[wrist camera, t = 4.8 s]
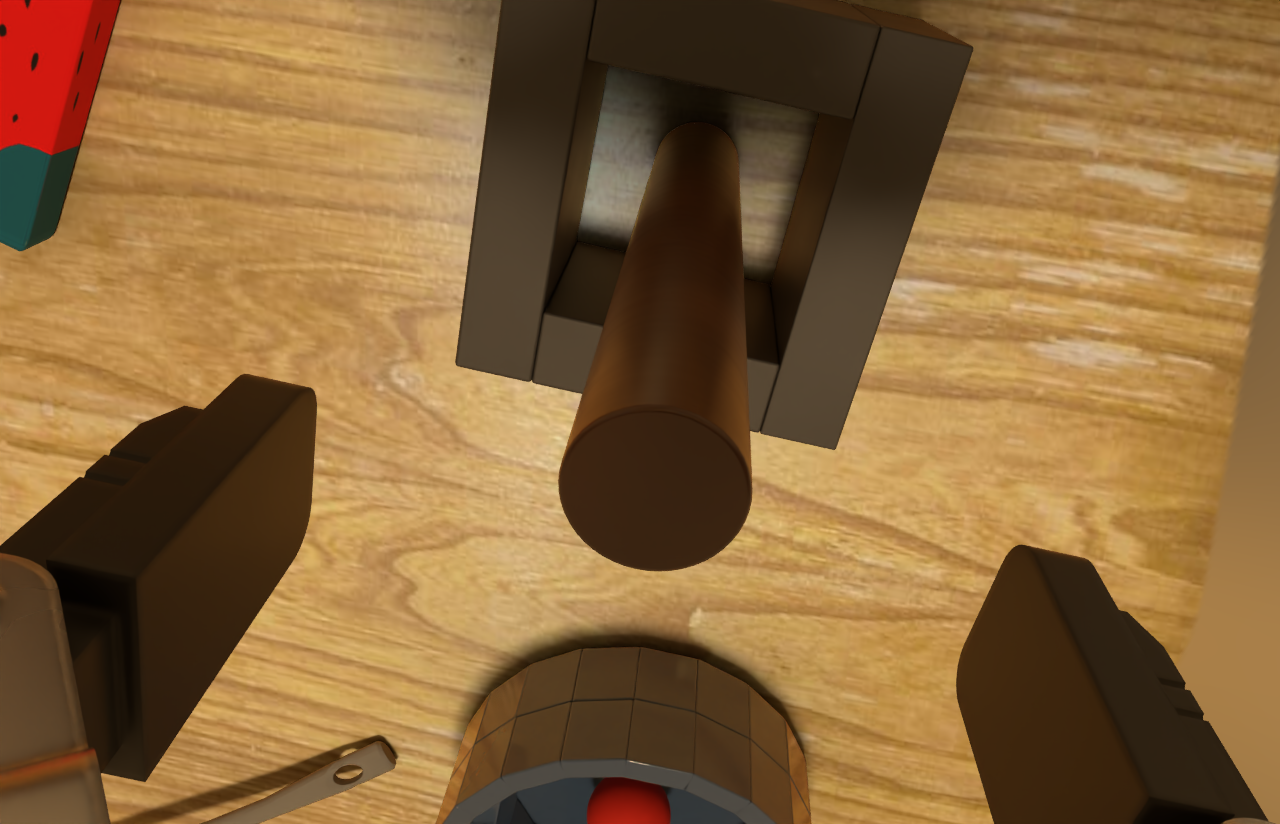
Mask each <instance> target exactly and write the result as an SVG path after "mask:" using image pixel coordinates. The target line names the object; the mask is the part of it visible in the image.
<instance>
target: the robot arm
mask: <svg viewBox="0 0 1280 824" xmlns="http://www.w3.org/2000/svg"><path fill="white" fill-rule="evenodd" d="M316 416H317V401H316V395H315V392H314V391H313V389H312V388H309V387H305V386H300V385H295V384H291V383H286V382H282V381H277V380H273V379H268V378H263V377H259V376H254V375H250V374H243V375H240V376H239V377H238V378H236V379H235V380H234V381H233V382H232V383H231V384H230V385H229V386H228V387H227V388H226V389H225V390H224V391H223V392H222V393H221V394H220V395H219V396H217V397H216V398H215V399H214V400H213V401H212V402H211V403H210V404H209V405H208V406H207V407H206V408H205V409H204V410H202V409H197V408H193V407H188V406H183V407H181V408H178V409H176V410H173V411H171V412H168V413H166V414H163V415H161V416H158V417H156V418H153V419H151V420H149V421H146V422H144V423H141V424H140V425H138V426H137V427H136V428H135V429H134V430H133V431H132V432H130V433H129V434H128V435H127V436H126V437H125V438H124V439H122V440H121V441H120V442H119V443H118V444H117V445H115V446H114V447H113V448H112V449H111V452H110V455H109V456H108V455H104V456H103V457H102V458H101V459H99V460H98V461H97V462H96V463H95V464H94V465H93V466H91V467H90V468H89V469H88V470H87V471H86V474H85V477H84V478H82V477H79V478H78V479H76V480H75V481H74V482H73V483H72V484H71V485H70V486H68V487H67V488H66V489H65V490H64V491H63V492H61V493H60V494H59V495H58V496H57V497H56V498H55V499H53V500H52V501H51V502H50V503H49V504H48V505H47V506H45V507H44V508H43V509H42V510H41V511H40V512H38V513H37V514H36V515H35V516H34V517H33V518H32V519H30V520H29V521H28V522H27V523H26V524H25V525H24V526H22V527H21V528H20V529H19V530H18V531H17V532H15V533H14V534H13V535H12V536H11V537H10V538H9V539H7V540H6V541H5V542H4V543H3V544H2V545H1V546H0V824H110V819H109V814H108V809H107V804H106V799H105V794H104V789H103V783H102V778H101V773H104V774H109V775H114V776H119V777H124V778H128V779H133V780H138V781H143V782H146V780H147V779H148V777H149V776H150V774H151V773H152V771H153V770H154V768H155V767H156V765H157V764H158V762H159V761H160V759H161V758H162V756H163V755H164V753H165V752H166V750H167V749H168V747H169V746H170V744H171V743H172V741H173V740H174V738H175V737H176V735H177V734H178V732H179V731H180V729H181V728H182V726H183V725H184V723H185V722H186V720H187V719H188V717H189V716H190V714H191V713H192V711H193V710H194V708H195V707H196V705H197V704H198V702H199V701H200V699H201V698H202V696H203V695H204V693H205V692H206V690H207V689H208V687H209V686H210V684H211V683H212V681H213V680H214V678H215V677H216V675H217V674H218V672H219V671H220V669H221V668H222V666H223V665H224V663H225V662H226V660H227V659H228V657H229V656H230V654H231V653H232V651H233V650H234V648H235V647H236V646H237V644H238V643H239V641H240V640H241V638H242V637H243V635H244V634H245V632H246V631H247V629H248V628H249V626H250V625H251V623H252V622H253V620H254V619H255V617H256V616H257V614H258V613H259V611H260V610H261V608H262V607H263V605H264V604H265V602H266V601H267V599H268V598H269V596H270V595H271V593H272V592H273V590H274V589H275V587H276V586H277V584H278V583H279V581H280V580H281V578H282V577H283V575H284V574H285V572H286V571H287V569H288V568H289V566H290V565H291V563H292V562H293V560H294V559H295V557H296V555H297V553H298V551H299V549H300V547H301V544H302V542H303V539H304V536H305V533H306V530H307V526H308V522H309V517H310V511H311V503H312V486H313V469H314V451H315V434H316ZM956 689H957V699H958V703H959V707H960V710H961V714H962V717H963V721H964V724H965V727H966V731H967V734H968V737H969V741H970V744H971V747H972V751H973V754H974V757H975V761H976V764H977V768H978V771H979V774H980V778H981V781H982V784H983V788H984V791H985V794H986V798H987V801H988V804H989V808H990V811H991V815H992V818H993V821H994V824H1275V823H1272V822H1269V821H1268V819H1267V818H1266V816H1265V814H1264V813H1263V811H1262V809H1261V808H1260V806H1259V804H1258V803H1257V801H1256V799H1255V798H1254V796H1253V794H1252V793H1251V791H1250V789H1249V788H1248V786H1247V784H1246V783H1245V781H1244V780H1243V778H1242V776H1241V774H1240V773H1239V771H1238V769H1237V768H1236V766H1235V765H1234V763H1233V761H1232V760H1231V758H1230V756H1229V755H1228V753H1227V751H1226V750H1225V748H1224V746H1223V745H1222V743H1221V741H1220V740H1219V738H1218V736H1217V735H1216V733H1215V731H1214V730H1213V728H1212V726H1211V725H1210V723H1209V722H1208V721H1204V720H1203V715H1204V713H1203V711H1202V710H1201V708H1200V707H1199V705H1198V703H1197V701H1196V700H1195V698H1194V696H1193V695H1192V693H1191V691H1189V690H1185V681H1184V680H1183V678H1182V676H1181V675H1180V673H1179V672H1178V670H1177V668H1176V666H1175V665H1174V663H1173V661H1172V660H1171V658H1170V656H1169V655H1168V653H1167V652H1166V650H1165V648H1164V647H1163V646H1162V645H1161V644H1160V643H1159V642H1158V641H1157V640H1156V639H1155V638H1154V637H1153V636H1152V635H1151V634H1150V633H1149V632H1148V631H1146V630H1145V629H1144V628H1143V627H1142V626H1141V625H1140V624H1139V623H1138V622H1137V621H1136V620H1135V619H1134V618H1133V617H1132V616H1131V615H1130V614H1129V613H1128V612H1125V611H1120V610H1118V608H1117V606H1116V604H1115V602H1114V601H1113V599H1112V597H1111V595H1110V594H1109V592H1108V590H1107V588H1106V587H1105V585H1104V583H1103V581H1102V580H1101V578H1100V576H1099V574H1098V573H1097V571H1096V569H1095V567H1094V566H1093V564H1092V563H1091V562H1090V561H1089V560H1087V559H1085V558H1081V557H1077V556H1072V555H1067V554H1063V553H1058V552H1054V551H1049V550H1045V549H1040V548H1035V547H1031V546H1026V545H1018V546H1015V547H1014V548H1013V549H1012V550H1011V551H1010V552H1009V553H1008V554H1007V556H1006V557H1005V559H1004V561H1003V563H1002V565H1001V567H1000V569H999V571H998V574H997V576H996V578H995V580H994V582H993V584H992V586H991V589H990V591H989V593H988V595H987V597H986V599H985V601H984V604H983V606H982V608H981V610H980V612H979V614H978V616H977V618H976V621H975V623H974V625H973V627H972V629H971V631H970V633H969V636H968V638H967V640H966V642H965V644H964V647H963V649H962V652H961V655H960V659H959V663H958V669H957V679H956Z"/></svg>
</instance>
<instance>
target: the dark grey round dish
mask: <svg viewBox="0 0 1280 824" xmlns="http://www.w3.org/2000/svg"><path fill="white" fill-rule="evenodd" d="M606 777H625V778H629V779H634V780H639V781H643V782H648V783H653V784H658V785H661V787H662V788H663V789H664V791H665V793H666V795H667V798H668V800H669V804H670V810H671V821H670V824H812V823H811V812H810V801H809V790H808V779H807V768H806V760H805V757H804V755H803V753H802V751H801V749H800V747H799V745H798V743H797V741H796V739H795V737H794V735H793V733H792V731H791V729H790V727H789V725H788V723H787V721H786V720H785V719H784V718H783V717H782V716H781V715H780V714H779V713H778V712H777V711H776V710H775V709H774V708H773V707H772V706H771V705H770V704H769V703H768V702H766V701H765V700H764V699H763V698H762V697H761V696H760V695H759V694H758V693H757V692H756V691H755V690H754V689H753V688H752V687H751V686H749V685H748V684H747V683H746V682H744V681H742V680H740V679H738V678H736V677H734V676H732V675H730V674H728V673H726V672H724V671H722V670H720V669H718V668H716V667H714V666H712V665H710V664H708V663H706V662H704V661H702V660H700V659H698V660H697V659H696V658H691V657H687V656H682V655H678V654H673V653H668V652H664V651H659V650H654V649H650V648H645V647H641V648H640V647H612V648H584V649H578V650H574V651H571V652H568V653H565V654H561V655H558V656H555V657H552V658H548V659H545V660H542V661H539V662H535V663H532V664H531V665H529V666H527V667H526V668H524V669H523V670H522V671H520V672H519V673H517V674H516V675H514V676H513V677H511V678H510V679H509V680H507V681H506V682H504V683H503V684H501V685H500V686H498V687H497V688H496V689H494V690H493V691H492V692H491V693H489V695H488V696H487V698H486V699H485V701H484V702H483V704H482V705H481V707H480V708H479V710H478V711H477V713H476V714H475V716H474V717H473V719H472V720H471V722H470V723H469V725H468V726H467V729H466V732H465V735H464V738H463V741H462V744H461V747H460V750H459V753H458V756H457V759H456V763H455V766H454V769H453V772H452V775H451V778H450V782H449V784H448V787H447V790H446V793H445V796H444V799H443V803H442V806H441V809H440V812H439V815H438V818H437V821H436V824H587V807H588V803H589V799H590V797H591V795H592V793H593V791H594V789H595V788H596V786H597V785H598V784H599V783H600V782H601V781H602V780H603V779H604V778H606Z"/></svg>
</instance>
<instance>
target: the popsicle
mask: <svg viewBox="0 0 1280 824" xmlns="http://www.w3.org/2000/svg"><path fill="white" fill-rule="evenodd" d="M119 2H120V0H0V242H1V243H3V244H5V245H7V246H10V247H12V248H14V249H16V250H18V251H23V250H26V249H28V248H30V247H32V246H34V245H36V244H38V243H40V242H42V241H45V240H47V239H49V238H50V237H51V236H52V235H53V234H54V232H55V229H56V226H57V223H58V219H59V216H60V212H61V209H62V205H63V201H64V198H65V194H66V191H67V187H68V184H69V180H70V177H71V173H72V169H73V166H74V162H75V159H76V155H77V152H78V148H79V145H80V141H81V137H82V134H83V130H84V127H85V123H86V120H87V116H88V112H89V109H90V105H91V102H92V98H93V95H94V91H95V88H96V84H97V80H98V77H99V73H100V70H101V66H102V63H103V59H104V56H105V52H106V48H107V45H108V41H109V38H110V34H111V31H112V27H113V24H114V20H115V16H116V13H117V9H118V6H119Z"/></svg>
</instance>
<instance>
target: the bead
mask: <svg viewBox="0 0 1280 824" xmlns="http://www.w3.org/2000/svg"><path fill="white" fill-rule="evenodd" d="M670 821H671V810H670V804H669V800H668V798H667V795H666V793H665V791H664V789H663V788H662V787H661V785H658V784H653V783H648V782H643V781H639V780H634V779H629V778H625V777H606V778H604V779H603V780H602V781H601V782H600V783H599V784H598V785H597V786H596V788H595V789H594V791H593V793H592V795H591V797H590V799H589V803H588V807H587V824H670Z"/></svg>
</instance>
